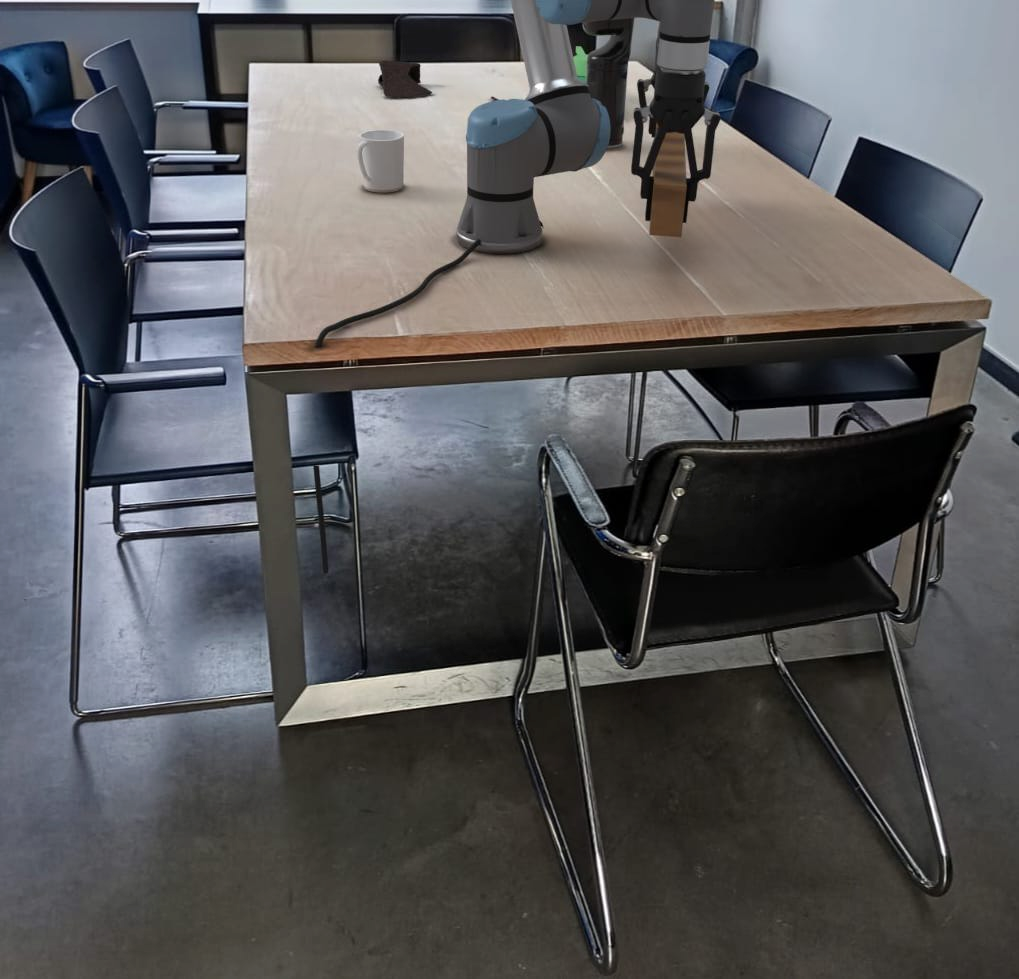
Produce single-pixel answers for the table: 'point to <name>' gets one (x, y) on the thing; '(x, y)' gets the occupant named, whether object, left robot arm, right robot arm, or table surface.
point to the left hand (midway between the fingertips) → (665, 219)
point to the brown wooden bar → (669, 187)
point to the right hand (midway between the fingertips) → (667, 136)
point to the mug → (381, 160)
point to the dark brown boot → (401, 79)
